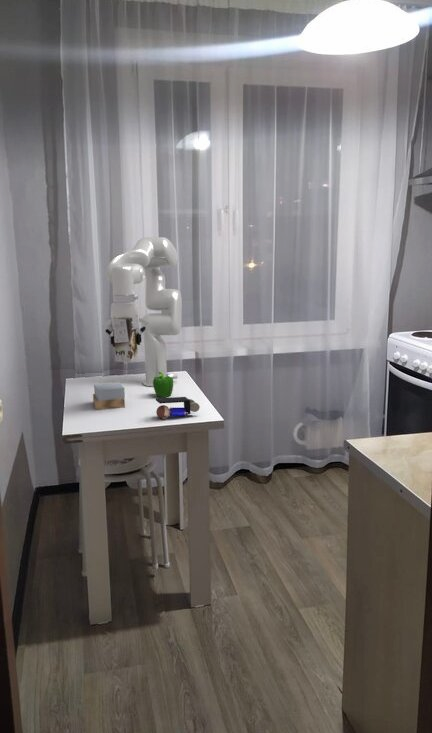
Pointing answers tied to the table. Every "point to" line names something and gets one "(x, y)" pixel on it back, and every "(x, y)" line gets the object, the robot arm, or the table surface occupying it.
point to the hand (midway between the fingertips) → (126, 345)
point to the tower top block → (109, 391)
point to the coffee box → (125, 340)
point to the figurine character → (165, 411)
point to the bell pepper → (163, 385)
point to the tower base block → (108, 403)
